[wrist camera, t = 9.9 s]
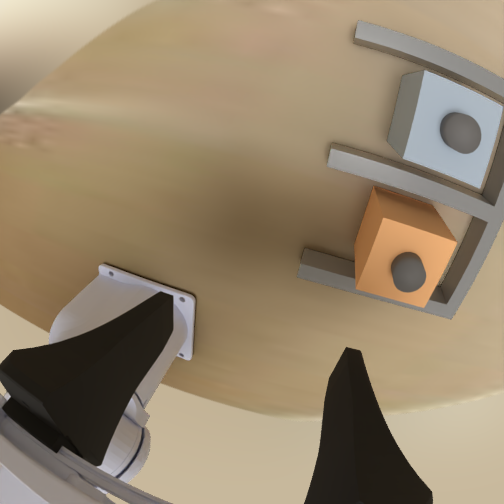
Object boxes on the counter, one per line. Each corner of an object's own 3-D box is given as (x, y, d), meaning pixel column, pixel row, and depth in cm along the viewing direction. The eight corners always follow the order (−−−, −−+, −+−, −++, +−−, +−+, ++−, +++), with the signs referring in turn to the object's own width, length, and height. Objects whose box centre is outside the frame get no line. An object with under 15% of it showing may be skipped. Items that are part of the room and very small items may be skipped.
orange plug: (354, 243, 19) (355, 301, 14) (373, 185, 17) (385, 226, 12) (410, 260, 19) (427, 320, 14) (432, 205, 17) (463, 252, 12)
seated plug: (386, 141, 16) (407, 163, 11) (402, 75, 14) (431, 68, 9) (447, 163, 15) (488, 195, 10) (464, 100, 13) (513, 108, 8)
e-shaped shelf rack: (301, 260, 21) (296, 277, 19) (356, 27, 13) (357, 20, 12) (445, 301, 19) (451, 319, 18) (523, 99, 12) (539, 101, 10)
